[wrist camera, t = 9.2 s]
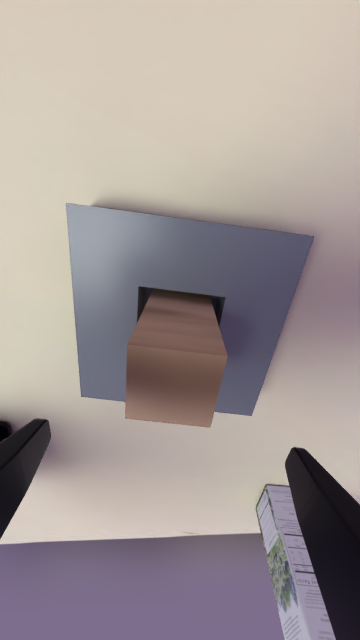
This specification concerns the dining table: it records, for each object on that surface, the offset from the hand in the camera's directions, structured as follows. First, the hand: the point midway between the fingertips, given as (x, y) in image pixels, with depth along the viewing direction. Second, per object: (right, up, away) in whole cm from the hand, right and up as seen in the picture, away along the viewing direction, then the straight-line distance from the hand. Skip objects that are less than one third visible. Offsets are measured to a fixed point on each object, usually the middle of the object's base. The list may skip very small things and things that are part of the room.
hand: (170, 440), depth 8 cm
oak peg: (0, +5, +11) cm, 12 cm away
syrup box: (+14, -20, +23) cm, 33 cm away
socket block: (0, +5, +11) cm, 13 cm away
